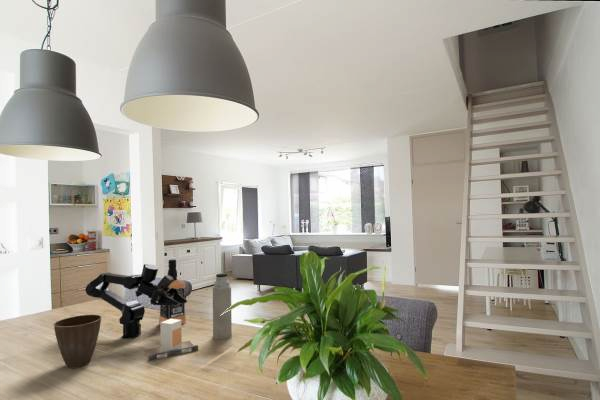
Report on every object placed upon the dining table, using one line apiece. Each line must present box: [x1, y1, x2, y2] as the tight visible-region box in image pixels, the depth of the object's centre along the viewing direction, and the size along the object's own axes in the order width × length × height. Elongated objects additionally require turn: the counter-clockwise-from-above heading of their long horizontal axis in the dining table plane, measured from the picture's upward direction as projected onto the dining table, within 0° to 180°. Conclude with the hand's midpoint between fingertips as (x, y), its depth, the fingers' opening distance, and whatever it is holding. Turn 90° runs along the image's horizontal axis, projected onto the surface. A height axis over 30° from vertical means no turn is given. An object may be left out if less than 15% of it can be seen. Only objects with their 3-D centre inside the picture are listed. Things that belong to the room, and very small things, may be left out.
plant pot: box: [53, 314, 102, 369], centre depth 131 cm, size 15×15×16 cm
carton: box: [160, 319, 183, 352], centre depth 140 cm, size 6×6×12 cm
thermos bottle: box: [212, 273, 233, 340], centre depth 156 cm, size 8×8×28 cm
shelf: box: [143, 340, 199, 362], centre depth 140 cm, size 18×13×3 cm
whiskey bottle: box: [158, 258, 187, 326], centre depth 180 cm, size 10×10×32 cm
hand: (182, 302), depth 156 cm, fingers open, 9 cm apart
